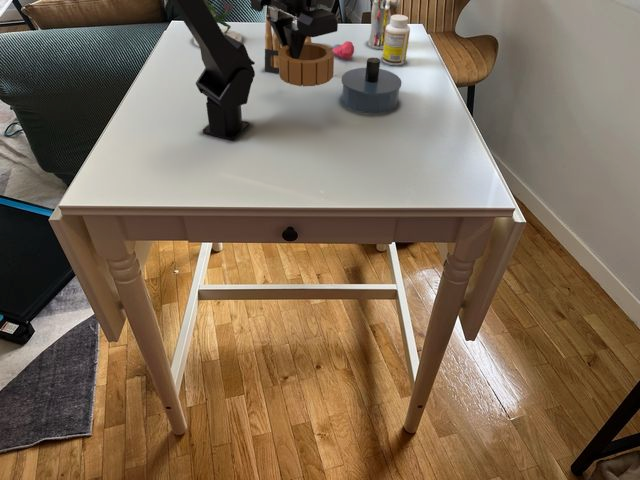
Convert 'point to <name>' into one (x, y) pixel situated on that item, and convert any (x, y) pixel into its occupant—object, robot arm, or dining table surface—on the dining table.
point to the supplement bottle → (396, 40)
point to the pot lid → (371, 79)
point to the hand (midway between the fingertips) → (292, 59)
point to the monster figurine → (218, 19)
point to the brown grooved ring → (307, 65)
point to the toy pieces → (343, 50)
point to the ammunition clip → (273, 49)
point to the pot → (369, 101)
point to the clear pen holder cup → (381, 20)
